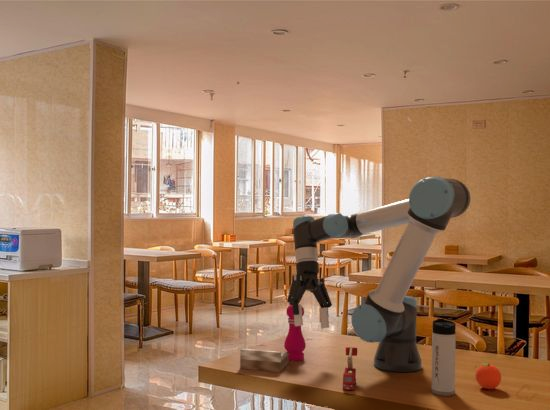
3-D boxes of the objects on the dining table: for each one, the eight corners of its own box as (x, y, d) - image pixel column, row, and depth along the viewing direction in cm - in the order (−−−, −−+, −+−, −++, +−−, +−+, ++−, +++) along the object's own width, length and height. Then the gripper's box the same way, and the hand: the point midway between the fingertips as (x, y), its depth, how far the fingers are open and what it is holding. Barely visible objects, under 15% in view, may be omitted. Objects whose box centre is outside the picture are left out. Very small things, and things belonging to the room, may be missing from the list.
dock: (288, 363, 193) (288, 344, 193) (279, 372, 182) (280, 352, 182) (250, 359, 196) (251, 341, 196) (240, 368, 185) (240, 349, 185)
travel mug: (450, 388, 167) (451, 318, 167) (458, 396, 161) (459, 322, 161) (428, 388, 167) (429, 318, 167) (435, 396, 160) (436, 322, 160)
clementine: (467, 387, 169) (467, 362, 169) (478, 382, 174) (479, 358, 174) (494, 394, 163) (494, 368, 163) (505, 389, 168) (505, 364, 168)
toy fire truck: (342, 390, 164) (342, 356, 164) (346, 377, 178) (346, 345, 178) (354, 391, 164) (354, 356, 164) (357, 377, 177) (357, 345, 177)
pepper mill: (309, 357, 200) (310, 299, 200) (298, 362, 194) (299, 301, 194) (290, 354, 204) (291, 297, 204) (280, 359, 198) (280, 299, 198)
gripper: (321, 269, 207) (326, 330, 200) (273, 259, 189) (277, 326, 182) (338, 264, 202) (344, 327, 195) (291, 254, 184) (296, 322, 177)
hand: (312, 326), depth 189 cm, fingers open, 13 cm apart
